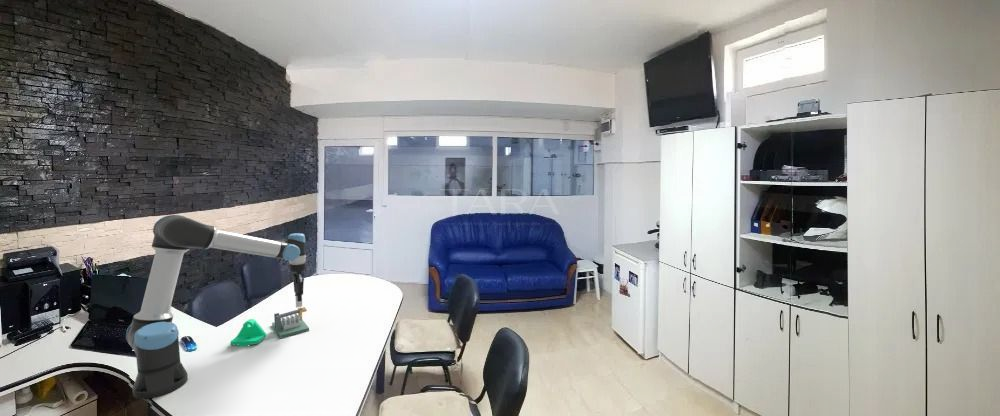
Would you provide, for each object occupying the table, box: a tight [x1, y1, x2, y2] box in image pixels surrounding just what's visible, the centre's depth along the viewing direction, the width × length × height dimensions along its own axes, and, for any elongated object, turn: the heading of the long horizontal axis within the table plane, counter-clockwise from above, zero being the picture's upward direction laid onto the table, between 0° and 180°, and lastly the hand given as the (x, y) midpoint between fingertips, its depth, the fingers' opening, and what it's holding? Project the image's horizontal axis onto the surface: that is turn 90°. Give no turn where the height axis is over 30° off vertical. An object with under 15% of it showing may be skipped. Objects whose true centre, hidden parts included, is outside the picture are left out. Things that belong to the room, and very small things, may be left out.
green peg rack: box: [271, 307, 310, 339], centre depth 185 cm, size 19×13×9 cm
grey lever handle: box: [275, 306, 308, 319], centre depth 185 cm, size 4×14×2 cm, turn 133°
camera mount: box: [230, 318, 267, 347], centre depth 169 cm, size 12×8×10 cm, turn 99°
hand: (299, 306), depth 187 cm, fingers closed
